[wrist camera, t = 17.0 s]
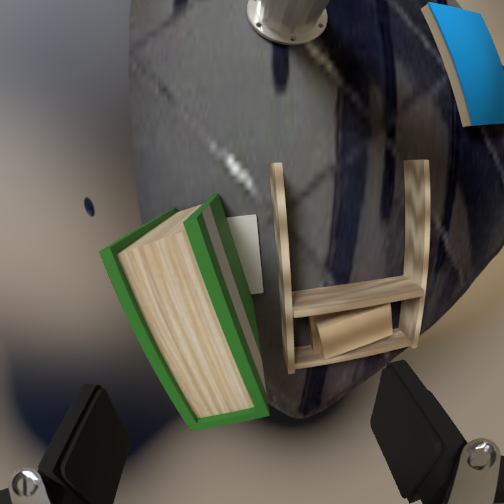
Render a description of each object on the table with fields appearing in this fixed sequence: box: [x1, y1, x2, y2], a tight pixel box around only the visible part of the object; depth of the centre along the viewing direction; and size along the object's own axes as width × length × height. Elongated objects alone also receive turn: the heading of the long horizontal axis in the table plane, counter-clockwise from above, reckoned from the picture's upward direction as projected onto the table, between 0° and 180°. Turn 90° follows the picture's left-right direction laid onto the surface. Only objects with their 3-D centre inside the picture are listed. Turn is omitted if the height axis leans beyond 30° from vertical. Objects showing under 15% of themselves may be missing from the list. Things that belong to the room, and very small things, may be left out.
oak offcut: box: [314, 303, 393, 359], centre depth 45 cm, size 6×12×3 cm, turn 106°
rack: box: [269, 160, 430, 374], centre depth 43 cm, size 31×23×7 cm
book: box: [421, 2, 504, 127], centre depth 36 cm, size 17×4×25 cm
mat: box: [227, 215, 263, 294], centre depth 45 cm, size 12×14×1 cm
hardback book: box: [99, 194, 269, 431], centre depth 33 cm, size 18×7×24 cm, turn 17°
